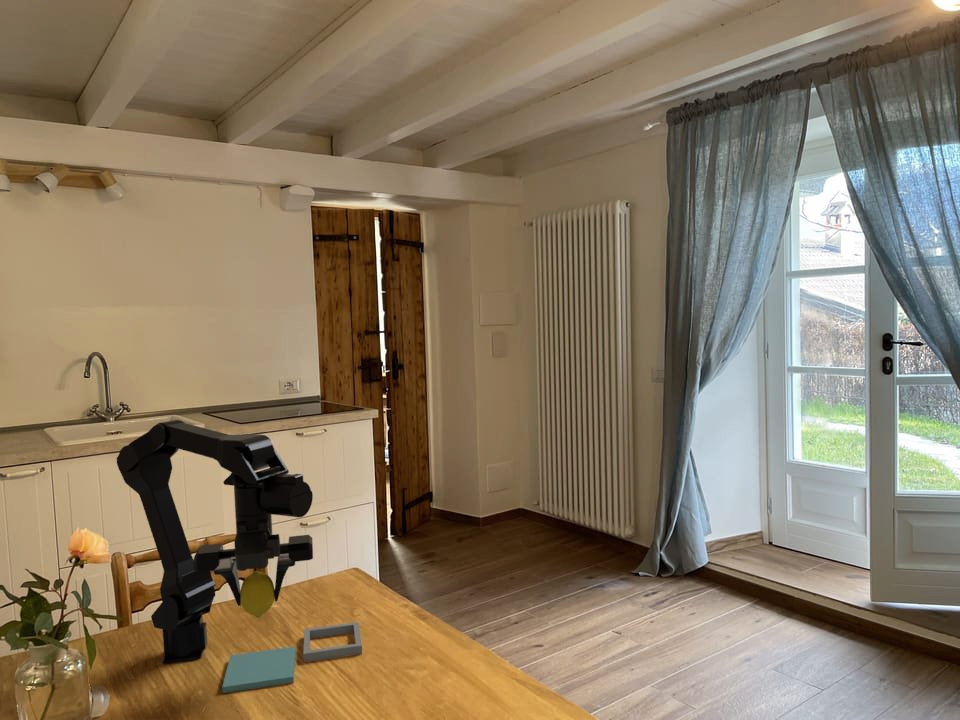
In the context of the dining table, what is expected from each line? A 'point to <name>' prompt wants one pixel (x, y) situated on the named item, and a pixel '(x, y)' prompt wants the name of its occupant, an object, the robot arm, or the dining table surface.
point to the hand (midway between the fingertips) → (258, 602)
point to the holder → (332, 651)
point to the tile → (260, 669)
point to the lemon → (257, 593)
